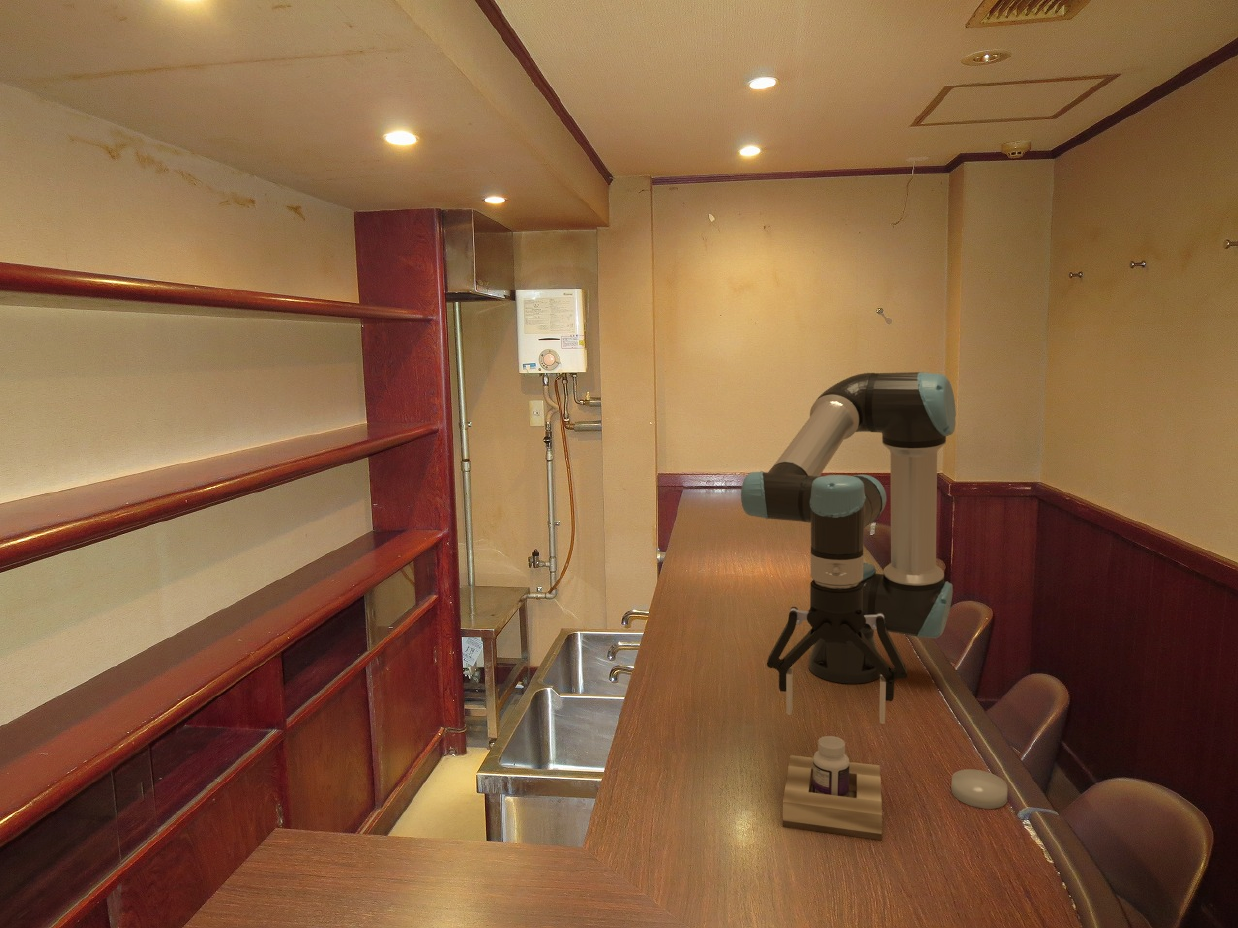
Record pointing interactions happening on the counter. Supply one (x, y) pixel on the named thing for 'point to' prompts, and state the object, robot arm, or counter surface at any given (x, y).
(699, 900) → the counter surface
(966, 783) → the beige oval dome
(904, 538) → the robot arm
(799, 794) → the socket block
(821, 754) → the pill bottle
